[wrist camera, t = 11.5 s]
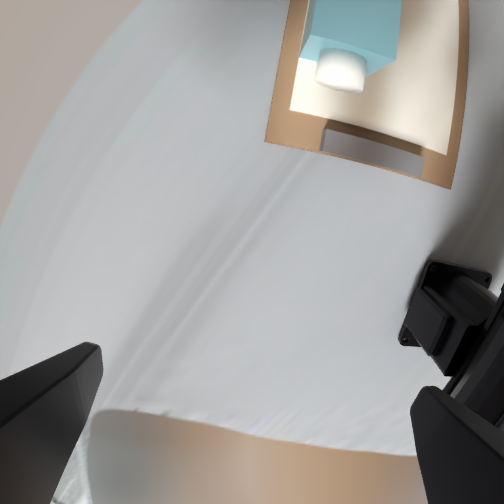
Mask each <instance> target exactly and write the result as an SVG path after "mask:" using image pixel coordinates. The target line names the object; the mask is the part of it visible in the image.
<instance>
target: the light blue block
mask: <svg viewBox="0 0 504 504" xmlns="http://www.w3.org/2000/svg"><path fill="white" fill-rule="evenodd" d="M401 1H402V0H309V5H308V11H307V16H306V22H305V27H304V33H303V38H302V43H301V49H300V54H299V58H303V59H307V60H312V61H316V62H318V64H317V69H316V75H315V82H316V83H317V84H319V85H321V86H323V87H326V88H329V89H332V90H336V91H341V92H347V93H361V92H363V87H364V81H365V75H366V76H369V75H371V74H373V73H374V72H376V71H378V70H380V69H381V68H383V67H385V66H387V65H389V64H390V63H392V62H394V61H396V56H397V47H398V38H399V27H400V15H401Z"/></svg>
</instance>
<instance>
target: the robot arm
mask: <svg viewBox="0 0 504 504" xmlns="http://www.w3.org/2000/svg"><path fill="white" fill-rule="evenodd" d="M433 265H434V268H433V269H432V270H430V269H431V267H432V266H433ZM486 277H487V278H486ZM485 278H486V279H485ZM491 280H492V275H491V274H490V273H489V272H487V271H484V270H479V269H475V268H470V267H466V266H461V265H457V264H452V263H447V262H442V261H438V260H429V261H428V262H427V263H426V265H425V267H424V270H423V273H422V276H421V279H420V282H419V285H418V288H417V290H416V291H415V294H414V297H413V299H412V302H411V305H410V307H409V310H408V312H407V315H406V318H405V320H404V325H403V327H402V330H401V332H400V334H399V337H398V341H399V343H400V344H401V345H402V346H414V347H422V348H423V350H424V351H425V353H426V354H427V355H428V356H431V357H432V359H433V360H434V362H435V363H436V365H437V366H438V367H439V369H440V370H441V372H442V373H443V375H444V376H450V377H451V379H450V380H449V382H448V383H447V385H446V386H445V387H444V389H443V390H441V389H439V388H438V387H436V386H425V387H423V388H422V389H421V390H420V392H419V394H418V395H417V397H416V399H415V401H414V402H413V404H412V406H411V409H410V416H411V422H412V427H413V434H414V440H415V446H416V452H417V457H418V462H419V466H420V470H421V474H422V478H423V482H424V486H425V490H426V496H427V500H428V504H504V284H503V286H502V288H501V291H502V292H501V294H500V296H499V298H498V297H497V296H496V295H494V294H493V293H492V292H491V291H489V290H488V288H489V285H490V283H491ZM406 337H407V338H406ZM404 338H406V339H405V340H404ZM102 376H103V362H102V353H101V348H100V346H99V345H97V344H94V343H90V342H84V343H81V344H79V345H77V346H75V347H73V348H70V349H68V350H66V351H64V352H62V353H60V354H57V355H55V356H53V357H51V358H49V359H46V360H44V361H42V362H40V363H38V364H35V365H33V366H31V367H29V368H26V369H24V370H22V371H20V372H18V373H15V374H13V375H11V376H9V377H6V378H4V379H2V380H0V504H50V502H51V500H52V497H53V495H54V492H55V490H56V488H57V485H58V483H59V481H60V478H61V476H62V474H63V472H64V469H65V467H66V465H67V463H68V460H69V458H70V456H71V454H72V452H73V449H74V447H75V445H76V443H77V441H78V439H79V437H80V434H81V432H82V430H83V428H84V426H85V424H86V421H87V419H88V416H89V413H90V410H91V407H92V404H93V401H94V399H95V396H96V393H97V390H98V387H99V385H100V382H101V379H102Z"/></svg>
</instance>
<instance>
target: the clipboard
mask: <svg viewBox="0 0 504 504" xmlns="http://www.w3.org/2000/svg"><path fill="white" fill-rule="evenodd" d="M308 5H309V0H291V1H290V6H289V11H288V17H287V22H286V27H285V33H284V38H283V43H282V49H281V54H280V59H279V65H278V70H277V75H276V81H275V86H274V92H273V97H272V103H271V108H270V113H269V119H268V124H267V130H266V135H265V141H264V142H268V143H273V144H278V145H284V146H289V147H294V148H299V149H304V150H308V151H313V152H318V153H322V154H326V155H331V156H335V157H339V158H343V159H348V160H352V161H356V162H359V163H363V164H367V165H371V166H375V167H378V168H382V169H386V170H389V171H393V172H396V173H400V174H403V175H406V176H410V177H413V178H416V179H419V180H423V181H426V182H429V183H432V184H435V185H438V186H441V187H444V188H447V189H450V190H451V186H452V182H453V177H454V172H455V167H456V162H457V157H458V151H459V145H460V139H461V132H462V125H463V118H464V109H465V100H466V90H467V77H468V58H469V8H468V0H402V1H401V15H400V27H399V38H398V47H397V56H396V61H394V62H392V63H390V64H389V65H387V66H385V67H383V68H381V69H380V70H378V71H376V72H374V73H373V74H371V75H369V76H366V75H365V81H364V87H363V92H361V93H347V92H341V91H336V90H332V89H329V88H326V87H323V86H321V85H319V84H317V83H316V82H315V75H316V69H317V64H318V62H316V61H312V60H307V59H303V58H299V54H300V49H301V43H302V38H303V33H304V27H305V22H306V16H307V11H308Z"/></svg>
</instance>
